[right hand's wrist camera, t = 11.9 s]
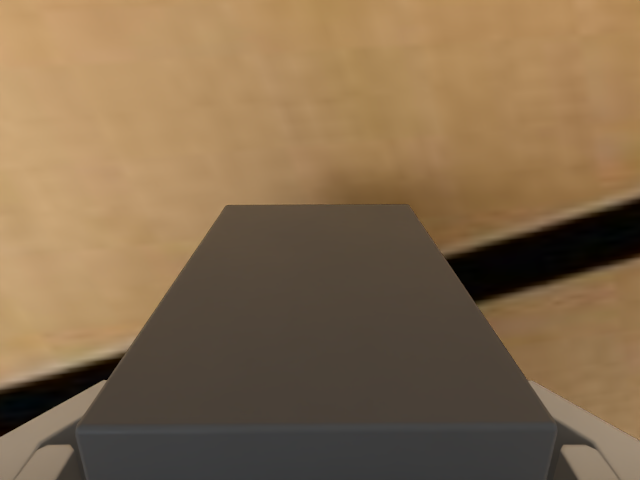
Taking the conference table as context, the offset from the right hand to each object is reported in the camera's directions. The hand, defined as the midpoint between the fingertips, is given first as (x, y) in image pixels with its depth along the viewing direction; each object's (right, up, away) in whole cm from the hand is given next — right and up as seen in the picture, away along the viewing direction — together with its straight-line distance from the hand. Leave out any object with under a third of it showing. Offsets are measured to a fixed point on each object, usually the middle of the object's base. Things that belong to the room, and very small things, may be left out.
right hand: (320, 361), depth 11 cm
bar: (0, -7, +6) cm, 9 cm away
